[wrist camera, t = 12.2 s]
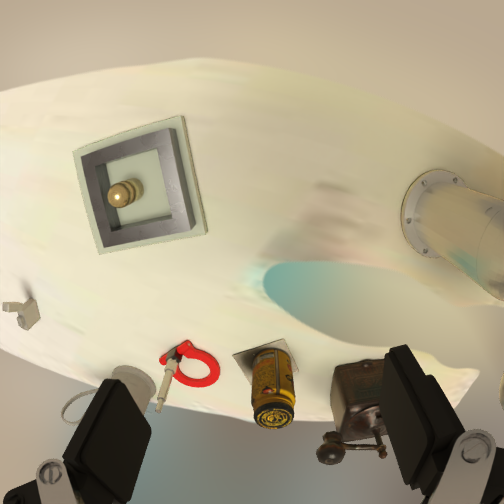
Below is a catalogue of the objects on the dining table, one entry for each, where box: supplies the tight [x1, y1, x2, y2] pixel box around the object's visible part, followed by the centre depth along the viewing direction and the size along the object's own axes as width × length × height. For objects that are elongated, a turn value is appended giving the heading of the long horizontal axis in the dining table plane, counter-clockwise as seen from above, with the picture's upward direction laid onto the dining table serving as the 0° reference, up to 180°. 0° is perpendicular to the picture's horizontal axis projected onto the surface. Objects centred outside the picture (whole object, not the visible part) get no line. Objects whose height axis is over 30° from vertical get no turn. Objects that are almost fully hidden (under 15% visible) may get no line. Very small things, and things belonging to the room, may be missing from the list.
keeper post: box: [108, 178, 144, 208], centre depth 33 cm, size 3×3×6 cm
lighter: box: [3, 298, 40, 330], centre depth 41 cm, size 7×2×8 cm, turn 175°
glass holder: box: [61, 366, 156, 426], centre depth 42 cm, size 9×14×15 cm, turn 82°
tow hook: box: [155, 341, 220, 413], centre depth 41 cm, size 8×13×9 cm
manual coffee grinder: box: [316, 359, 388, 465], centre depth 39 cm, size 16×11×18 cm
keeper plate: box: [73, 116, 208, 255], centre depth 37 cm, size 16×15×2 cm
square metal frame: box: [81, 128, 196, 248], centre depth 34 cm, size 12×12×3 cm
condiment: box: [232, 339, 299, 429], centre depth 41 cm, size 7×8×12 cm
